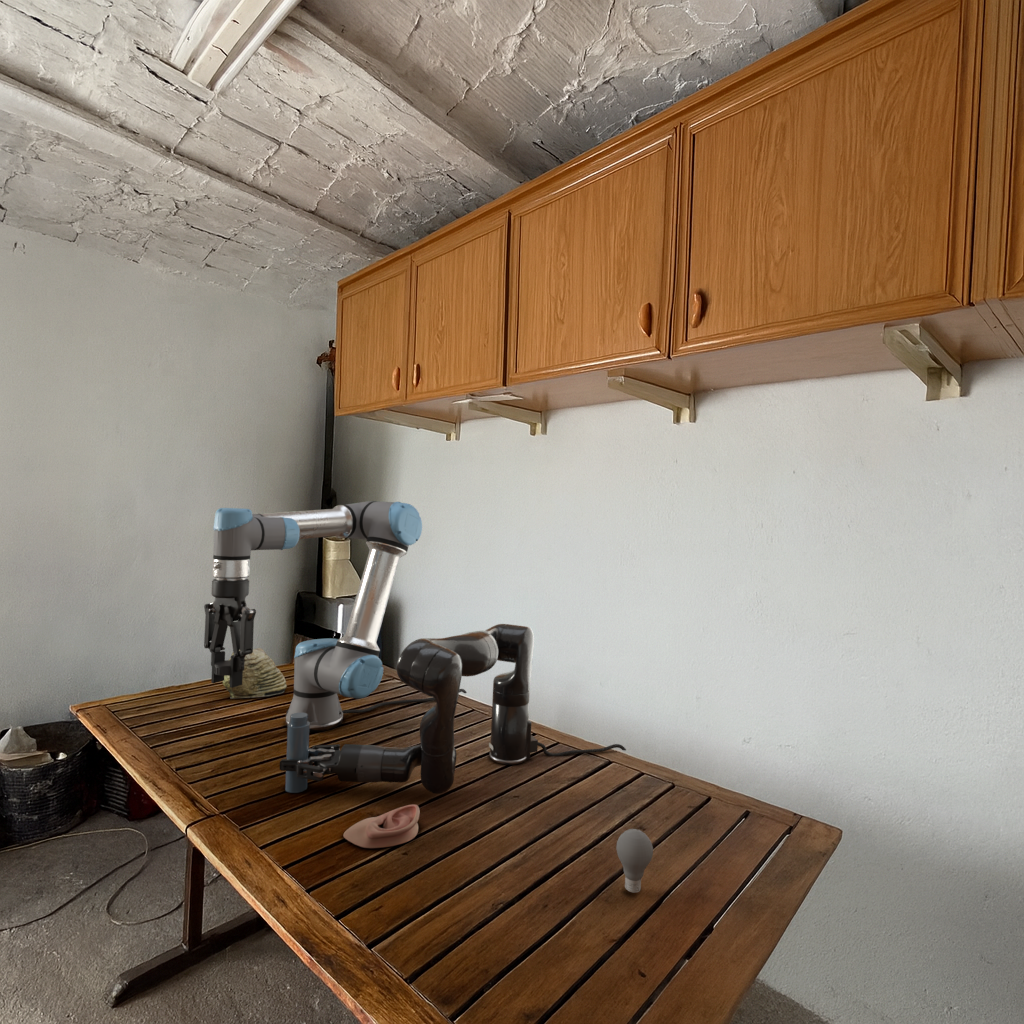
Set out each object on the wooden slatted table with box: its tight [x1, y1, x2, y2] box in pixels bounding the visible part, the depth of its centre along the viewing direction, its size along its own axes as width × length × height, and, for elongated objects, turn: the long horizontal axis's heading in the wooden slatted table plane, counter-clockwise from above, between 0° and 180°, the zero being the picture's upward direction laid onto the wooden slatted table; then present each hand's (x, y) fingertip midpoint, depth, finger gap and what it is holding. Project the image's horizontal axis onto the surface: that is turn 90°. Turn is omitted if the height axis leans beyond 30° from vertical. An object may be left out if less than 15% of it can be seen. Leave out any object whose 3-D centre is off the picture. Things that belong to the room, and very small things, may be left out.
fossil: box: [222, 647, 288, 699], centre depth 198 cm, size 9×18×15 cm, turn 132°
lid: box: [214, 659, 231, 676], centre depth 139 cm, size 5×5×2 cm
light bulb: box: [615, 828, 654, 894], centre depth 106 cm, size 6×6×10 cm
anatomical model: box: [342, 804, 421, 849], centre depth 120 cm, size 13×4×12 cm
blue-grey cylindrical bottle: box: [284, 712, 310, 794], centre depth 137 cm, size 5×5×16 cm
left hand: (226, 683), depth 139 cm, fingers closed on lid, 5 cm apart
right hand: (285, 759), depth 137 cm, fingers closed on blue-grey cylindrical bottle, 4 cm apart
